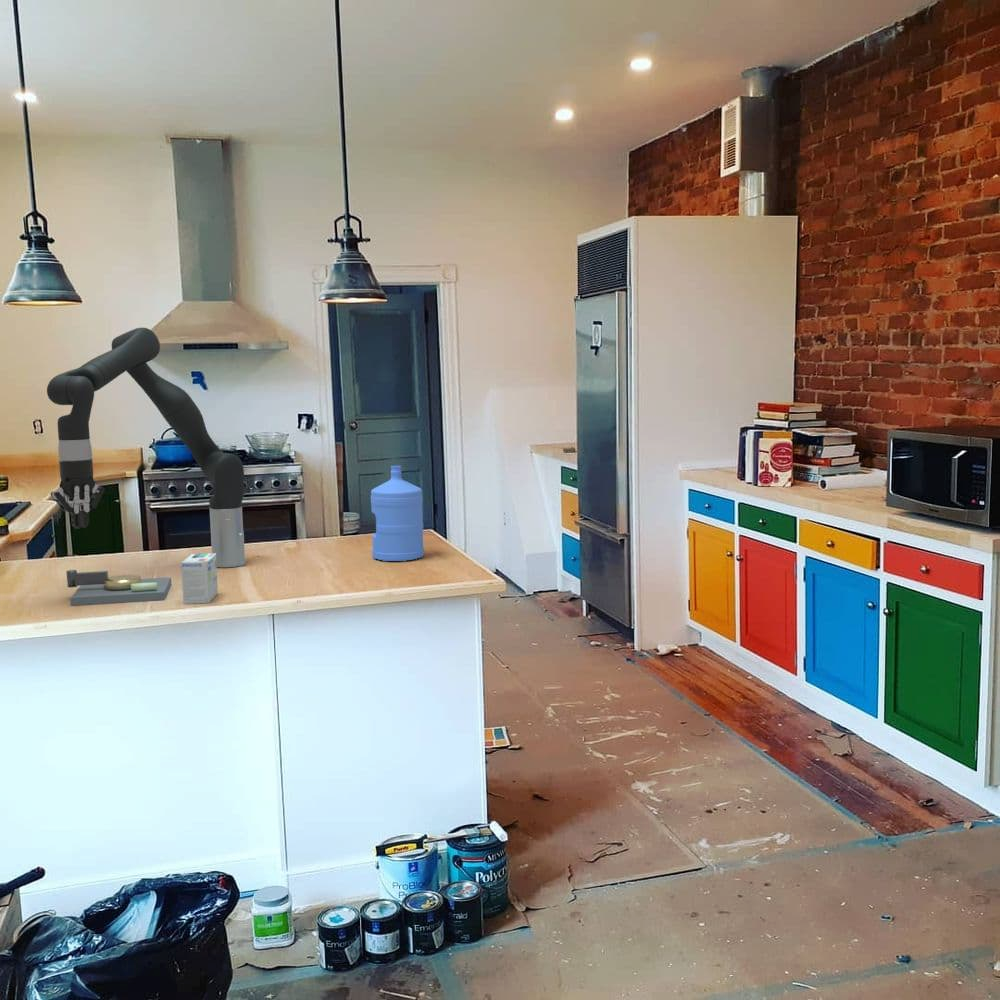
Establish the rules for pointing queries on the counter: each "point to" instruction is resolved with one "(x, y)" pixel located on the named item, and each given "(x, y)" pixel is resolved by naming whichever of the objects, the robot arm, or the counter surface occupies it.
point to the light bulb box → (199, 578)
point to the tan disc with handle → (101, 579)
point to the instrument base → (122, 592)
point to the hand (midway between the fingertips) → (80, 527)
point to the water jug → (397, 519)
